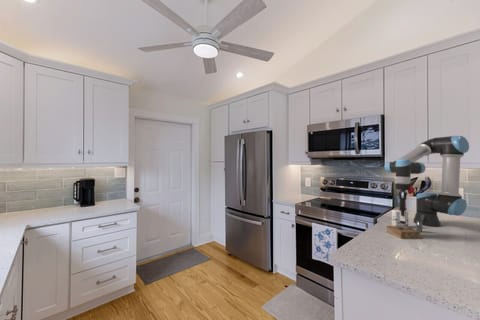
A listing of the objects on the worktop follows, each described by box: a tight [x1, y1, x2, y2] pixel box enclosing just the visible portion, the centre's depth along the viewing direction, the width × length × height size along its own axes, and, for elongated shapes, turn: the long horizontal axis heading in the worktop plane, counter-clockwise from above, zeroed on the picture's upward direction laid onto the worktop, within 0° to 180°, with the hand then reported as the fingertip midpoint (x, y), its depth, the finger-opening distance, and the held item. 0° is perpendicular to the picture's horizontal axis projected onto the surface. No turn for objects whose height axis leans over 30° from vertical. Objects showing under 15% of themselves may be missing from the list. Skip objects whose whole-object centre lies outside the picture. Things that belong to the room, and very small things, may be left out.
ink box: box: [391, 209, 409, 227], centre depth 149 cm, size 9×5×12 cm, turn 84°
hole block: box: [386, 225, 421, 240], centre depth 132 cm, size 12×12×4 cm
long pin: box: [400, 200, 407, 224], centre depth 132 cm, size 3×3×14 cm
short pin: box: [415, 221, 423, 234], centre depth 139 cm, size 3×3×7 cm
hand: (402, 220), depth 132 cm, fingers closed on long pin, 3 cm apart
